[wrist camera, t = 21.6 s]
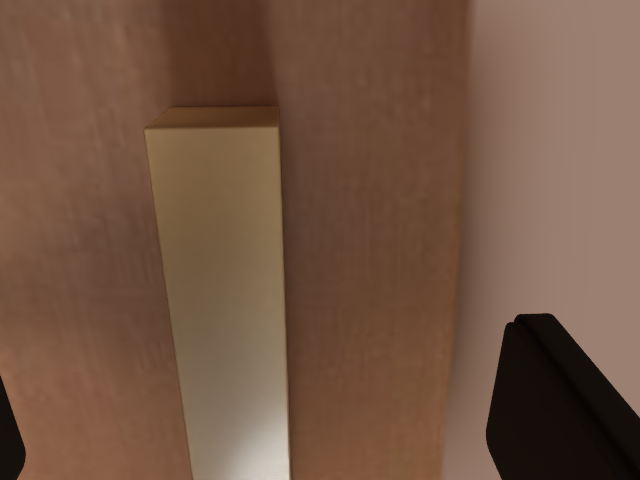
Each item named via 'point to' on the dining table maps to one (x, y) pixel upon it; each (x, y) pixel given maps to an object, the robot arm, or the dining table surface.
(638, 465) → the robot arm
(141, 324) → the dining table surface
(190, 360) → the stick
